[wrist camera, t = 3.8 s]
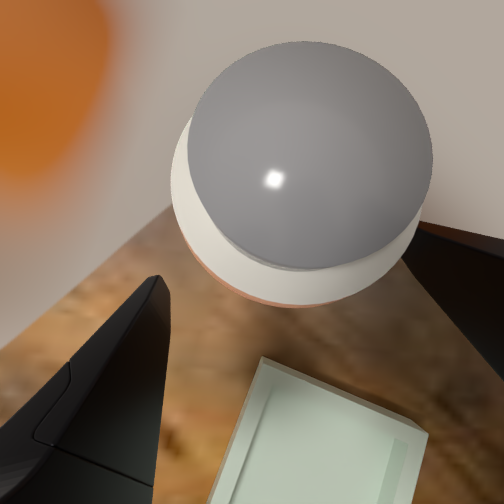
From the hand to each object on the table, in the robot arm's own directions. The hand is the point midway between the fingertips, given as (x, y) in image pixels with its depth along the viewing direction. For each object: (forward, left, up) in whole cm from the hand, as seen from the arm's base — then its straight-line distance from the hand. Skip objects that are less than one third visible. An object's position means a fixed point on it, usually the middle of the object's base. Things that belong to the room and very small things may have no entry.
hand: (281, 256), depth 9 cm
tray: (-7, +11, -9) cm, 16 cm away
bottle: (+1, -1, -9) cm, 9 cm away
